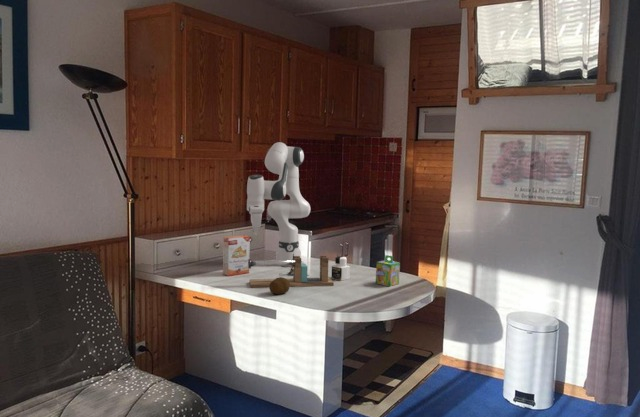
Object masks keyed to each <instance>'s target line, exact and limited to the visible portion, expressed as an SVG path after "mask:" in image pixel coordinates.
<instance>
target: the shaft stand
mask: <svg viewBox="0 0 640 417" xmlns="http://www.w3.org/2000/svg"><path fill="white" fill-rule="evenodd" d="M294 260H295V266H293V276H292V278H286V279H287V280H288V281H289V282H290V288H296V287H297V288H298V287H303V288H304V287H328V286H329V287H331V286H335V285H334V281H333V279H332V278H330V277H329V257H328V256H327V255H319V277H307V282H301V261H302V257H301V258H300V256H294ZM275 279H276V278H262V279H261V278H257V279H255V278H254V279H249V284H250V288H251V289H256V288H257V289H258V288H260V289H262V288H263V289H264V288H265V289H266V288H269V286H270V283H271V282H272V281H273V280H275Z"/></svg>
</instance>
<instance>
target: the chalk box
mask: <svg viewBox="0 0 640 417" xmlns="http://www.w3.org/2000/svg"><path fill="white" fill-rule="evenodd" d="M388 258H389V259H390V260H389V259H388ZM375 267H376V268H375V269H376V272H375V284H377V285H382V286H386V287H392V286H395V285H398V284H400V274H401V273H400V271H401V270H400V269H401V263H400V262H399V261H394V256H393V255H387V254H386V255H385V257H384V260H380V261H376V266H375Z"/></svg>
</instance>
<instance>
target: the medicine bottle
mask: <svg viewBox="0 0 640 417" xmlns="http://www.w3.org/2000/svg"><path fill="white" fill-rule="evenodd" d="M347 260H348V259H347V257H346V256H342V255H341V256H336V257H335V262H334V263H335V264H333V265H331V280H336V281H341V282H342V281H347V280H350V278H351V275H350V274H351V266H350V265H347Z"/></svg>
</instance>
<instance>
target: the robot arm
mask: <svg viewBox="0 0 640 417" xmlns="http://www.w3.org/2000/svg"><path fill="white" fill-rule="evenodd" d="M304 160H305V154H304V150H303V149H302V147H299V146H288V145H286V143H284V142H282V141H280V142H275V143H273V145H272V146H271V147H269V148H268V149H267V151H266V155H265V158H264V165H265V168H266V169H267V170H268V171H269V172H271V173H272V174H275V175H279V176H278V179H277V180H265V179H264V176H263V175H262V174H252V175H249V176H248V179H247V184H246V194H247V199H246V211H248V213H249V214H250V222H251V225H252V232H253V236H254V237H257V236H258V235H259V229H260V228H261V226H262V216H263V213H264V211H265V200H270V202H269V203H268V205H267V214H268V216H269V217H270V218H272V219H273V220H274V221H275V222H276V224H277V226H278V232H279V241H278V249H277V250H276V252H275V253H274V258H275V259H274V260H293V254H294V256H300V258H301V259H302V250H301V249H299V247H300V245H299V244H300V242H299V229H298V227H297V226H296V225H295V224H293V223H291V222H289V219H303V218H307V217H308V216H309V215H310V213H311V205H310V203H309V201H307V200H306V199H305V198H304V197H303V196H302V194H301V191H300V181H299V178H300V173H299V171H300V170H299V167H300V165H302V164H303V162H304ZM286 195H288V196H289V199H284V198H285V197H286ZM271 200H273V201H271ZM302 263H305V262H304V261H302V260H301V264H302Z"/></svg>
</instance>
